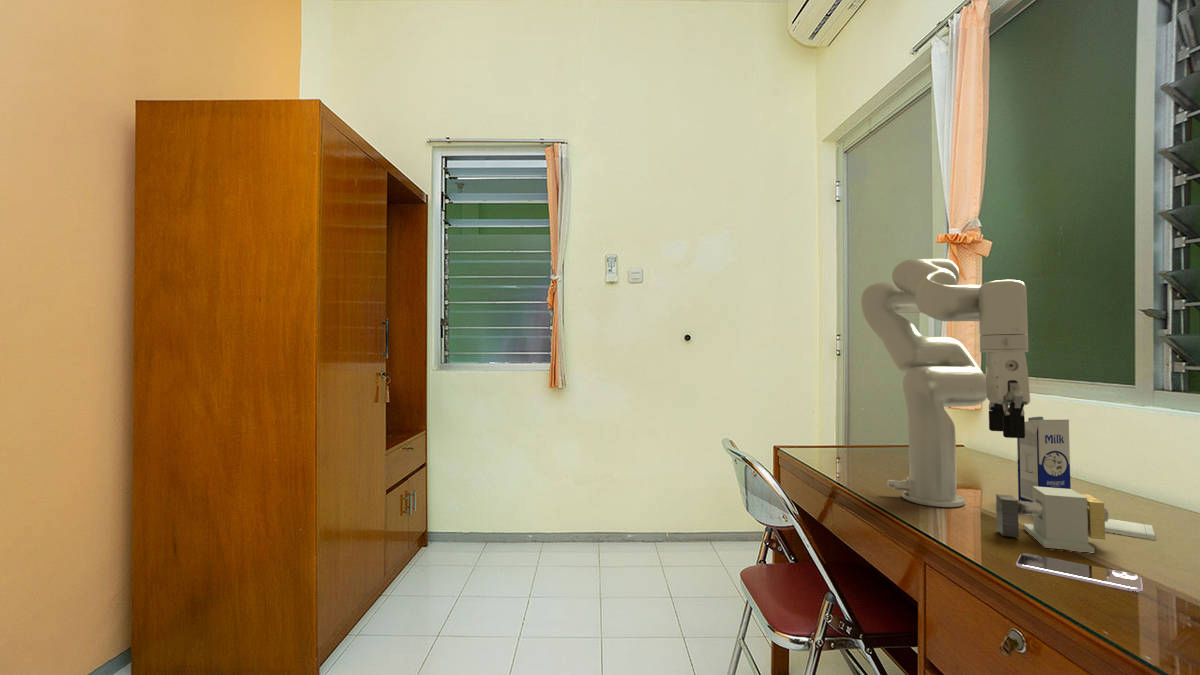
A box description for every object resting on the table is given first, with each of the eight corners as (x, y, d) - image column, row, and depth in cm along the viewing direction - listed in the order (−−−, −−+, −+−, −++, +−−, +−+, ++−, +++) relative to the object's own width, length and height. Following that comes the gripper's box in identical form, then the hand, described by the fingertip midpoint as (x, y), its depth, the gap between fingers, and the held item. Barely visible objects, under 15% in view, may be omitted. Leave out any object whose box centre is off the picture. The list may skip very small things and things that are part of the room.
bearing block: (1044, 548, 98) (1043, 497, 99) (1023, 528, 110) (1022, 482, 110) (1094, 553, 96) (1093, 501, 96) (1067, 532, 107) (1066, 486, 107)
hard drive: (1067, 521, 111) (1155, 534, 103) (1069, 512, 117) (1151, 523, 109) (1067, 529, 111) (1155, 543, 103) (1069, 520, 117) (1152, 532, 109)
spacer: (1090, 538, 98) (1089, 501, 98) (1076, 527, 104) (1075, 493, 104) (1105, 539, 97) (1104, 503, 98) (1089, 528, 103) (1088, 494, 104)
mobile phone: (1020, 550, 96) (1142, 573, 86) (1021, 556, 96) (1142, 580, 86) (1014, 562, 90) (1143, 589, 80) (1014, 569, 90) (1143, 596, 80)
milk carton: (1040, 508, 123) (1038, 418, 124) (1017, 500, 130) (1015, 415, 131) (1072, 508, 124) (1069, 418, 124) (1047, 500, 130) (1045, 415, 131)
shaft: (1002, 535, 104) (1001, 499, 104) (996, 529, 108) (996, 494, 108) (1111, 546, 98) (1110, 508, 98) (1101, 539, 102) (1100, 502, 102)
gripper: (1043, 343, 97) (1046, 441, 96) (1013, 345, 113) (1016, 429, 112) (992, 344, 100) (995, 439, 99) (970, 346, 116) (972, 428, 115)
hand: (1006, 434), depth 106 cm, fingers open, 9 cm apart
